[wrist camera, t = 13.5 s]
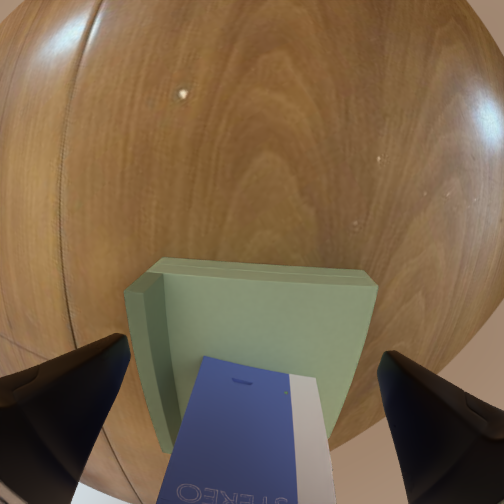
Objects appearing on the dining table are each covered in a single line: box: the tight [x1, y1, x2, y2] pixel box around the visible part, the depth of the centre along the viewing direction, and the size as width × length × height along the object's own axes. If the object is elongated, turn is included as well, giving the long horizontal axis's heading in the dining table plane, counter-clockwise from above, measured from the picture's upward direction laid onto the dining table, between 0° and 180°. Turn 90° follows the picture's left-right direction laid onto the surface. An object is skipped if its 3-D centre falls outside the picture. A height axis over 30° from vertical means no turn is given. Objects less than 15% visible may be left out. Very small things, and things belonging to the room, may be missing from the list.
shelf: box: [124, 257, 378, 454], centre depth 17 cm, size 14×15×6 cm
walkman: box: [156, 356, 337, 504], centre depth 12 cm, size 8×3×12 cm, turn 76°
